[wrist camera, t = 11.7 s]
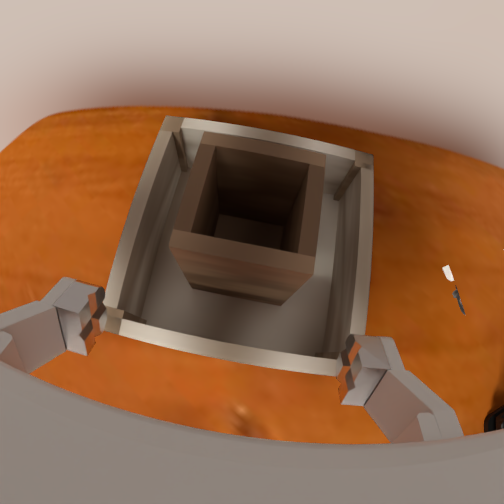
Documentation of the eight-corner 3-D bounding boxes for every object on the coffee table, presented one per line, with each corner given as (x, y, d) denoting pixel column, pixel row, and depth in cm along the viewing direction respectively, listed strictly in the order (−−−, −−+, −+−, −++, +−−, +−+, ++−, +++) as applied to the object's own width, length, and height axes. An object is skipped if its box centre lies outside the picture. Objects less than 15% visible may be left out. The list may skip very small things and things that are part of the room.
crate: (129, 335, 19) (97, 328, 14) (177, 163, 23) (166, 115, 18) (326, 373, 19) (358, 378, 14) (345, 195, 23) (373, 155, 18)
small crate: (191, 288, 20) (168, 246, 12) (211, 207, 21) (204, 131, 14) (280, 306, 20) (313, 274, 12) (293, 223, 21) (326, 154, 14)
